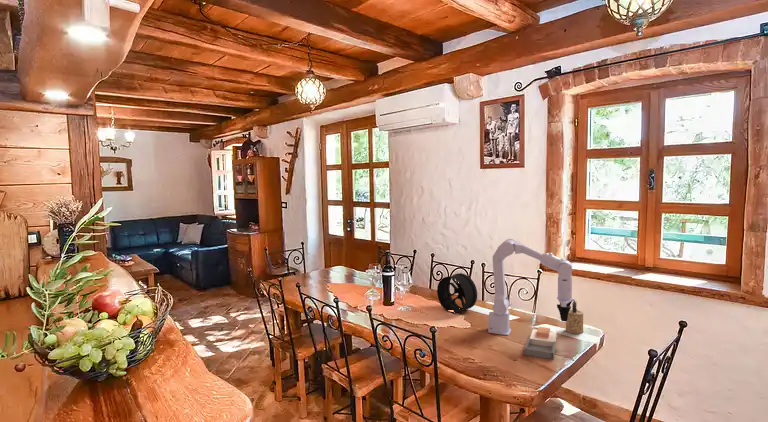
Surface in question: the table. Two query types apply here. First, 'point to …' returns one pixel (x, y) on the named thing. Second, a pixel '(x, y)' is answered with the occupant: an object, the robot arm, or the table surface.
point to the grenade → (574, 320)
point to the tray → (539, 350)
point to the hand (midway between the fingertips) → (564, 318)
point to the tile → (543, 332)
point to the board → (542, 339)
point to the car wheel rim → (464, 291)
